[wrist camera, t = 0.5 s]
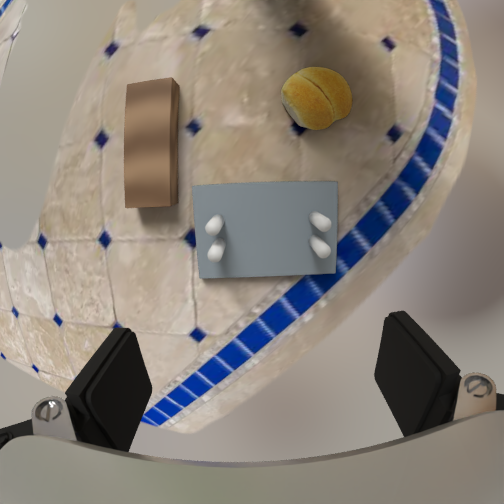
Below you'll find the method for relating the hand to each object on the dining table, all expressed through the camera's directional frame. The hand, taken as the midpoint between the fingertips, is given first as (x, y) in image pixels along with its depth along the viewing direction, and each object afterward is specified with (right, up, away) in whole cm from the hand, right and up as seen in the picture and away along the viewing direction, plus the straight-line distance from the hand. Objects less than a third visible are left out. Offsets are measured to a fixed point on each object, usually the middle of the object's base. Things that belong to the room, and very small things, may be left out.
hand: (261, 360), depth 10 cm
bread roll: (+8, +24, +23) cm, 34 cm away
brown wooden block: (-13, +18, +24) cm, 33 cm away
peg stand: (+1, +7, +27) cm, 28 cm away
